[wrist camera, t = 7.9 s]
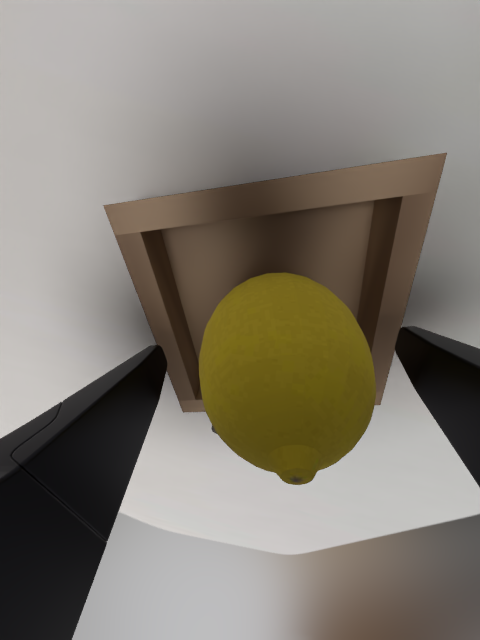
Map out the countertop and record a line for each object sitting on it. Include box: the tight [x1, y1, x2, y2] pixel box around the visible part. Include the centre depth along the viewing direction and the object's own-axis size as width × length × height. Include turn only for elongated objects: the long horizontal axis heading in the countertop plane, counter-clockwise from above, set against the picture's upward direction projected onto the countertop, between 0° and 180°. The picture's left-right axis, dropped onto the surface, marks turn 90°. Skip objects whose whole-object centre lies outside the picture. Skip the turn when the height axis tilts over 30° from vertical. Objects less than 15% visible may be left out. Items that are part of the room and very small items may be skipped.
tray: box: [103, 153, 447, 433], centre depth 10 cm, size 11×11×4 cm
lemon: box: [199, 272, 376, 485], centre depth 8 cm, size 6×6×8 cm
